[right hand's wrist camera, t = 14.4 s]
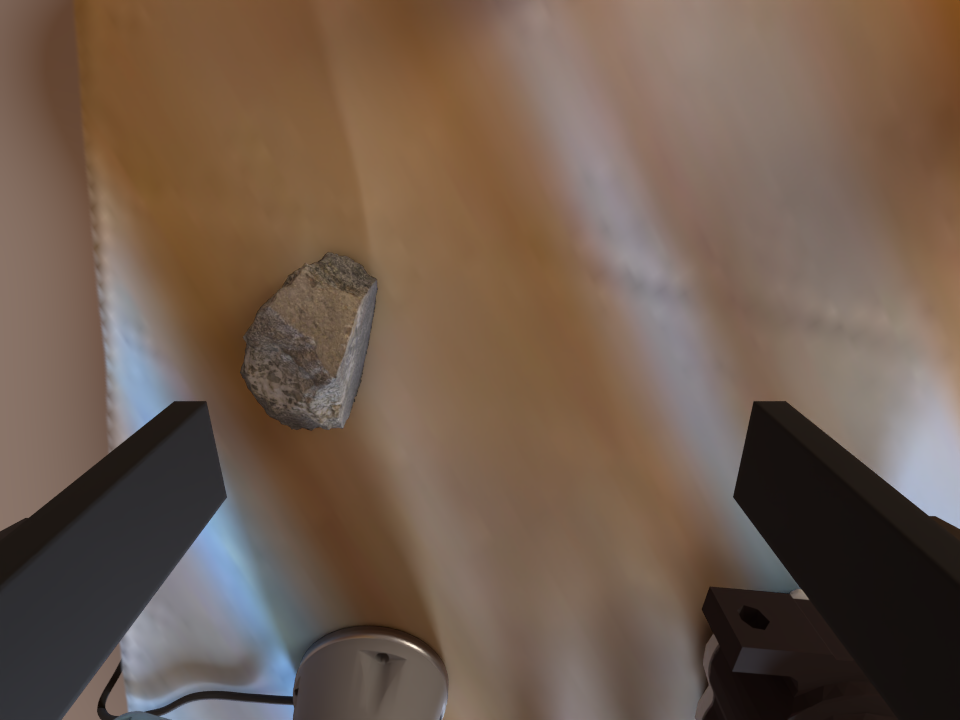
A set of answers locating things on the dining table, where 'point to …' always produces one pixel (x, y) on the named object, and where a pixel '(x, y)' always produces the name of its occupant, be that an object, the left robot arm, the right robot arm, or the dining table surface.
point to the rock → (312, 344)
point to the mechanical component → (779, 662)
